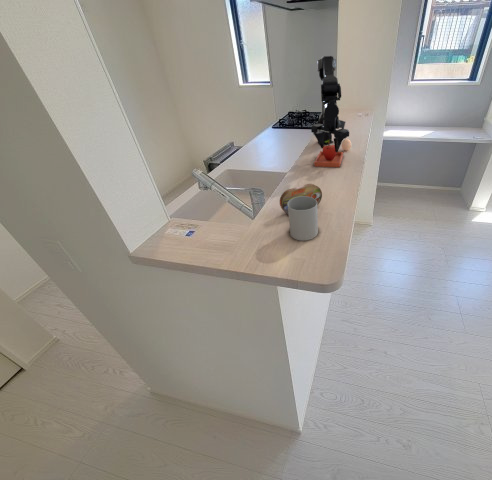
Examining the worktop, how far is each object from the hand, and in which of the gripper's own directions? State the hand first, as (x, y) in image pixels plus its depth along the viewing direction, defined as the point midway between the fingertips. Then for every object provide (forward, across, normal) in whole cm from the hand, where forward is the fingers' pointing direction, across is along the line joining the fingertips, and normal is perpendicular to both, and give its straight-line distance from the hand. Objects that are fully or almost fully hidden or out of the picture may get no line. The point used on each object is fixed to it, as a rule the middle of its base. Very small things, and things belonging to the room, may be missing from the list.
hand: (329, 150), depth 125 cm
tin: (+5, -25, +40) cm, 48 cm away
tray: (+5, 0, 0) cm, 5 cm away
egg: (+5, +4, -17) cm, 18 cm away
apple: (+5, 0, 0) cm, 5 cm away
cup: (+5, -36, +49) cm, 61 cm away
